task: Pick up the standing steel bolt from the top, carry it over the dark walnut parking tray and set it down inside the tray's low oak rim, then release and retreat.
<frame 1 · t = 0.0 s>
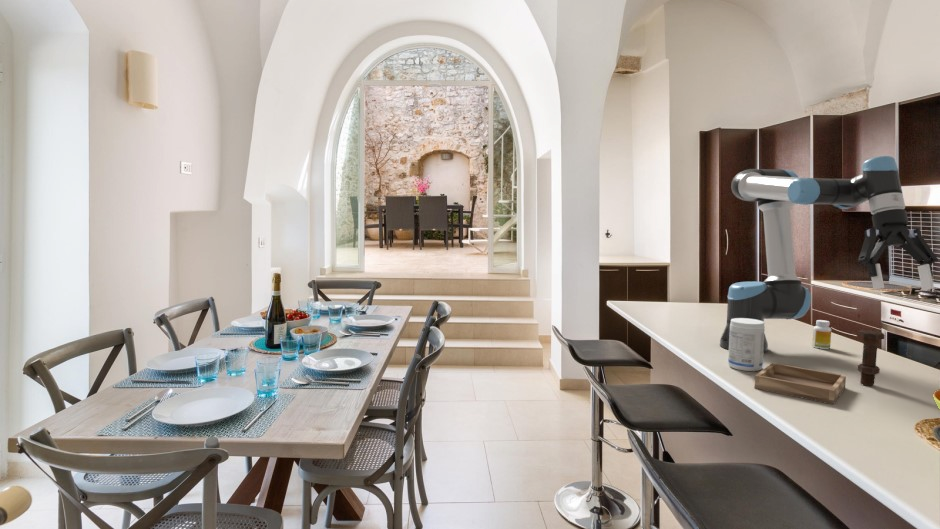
hand: (903, 289, 142), 28 cm above the table, tool tilted 20°, fingers open, 13 cm apart
bolt: (867, 385, 151), on the table
supplement tub: (744, 368, 167), on the table
supplement bottle: (821, 348, 194), on the table
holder: (799, 388, 147), on the table
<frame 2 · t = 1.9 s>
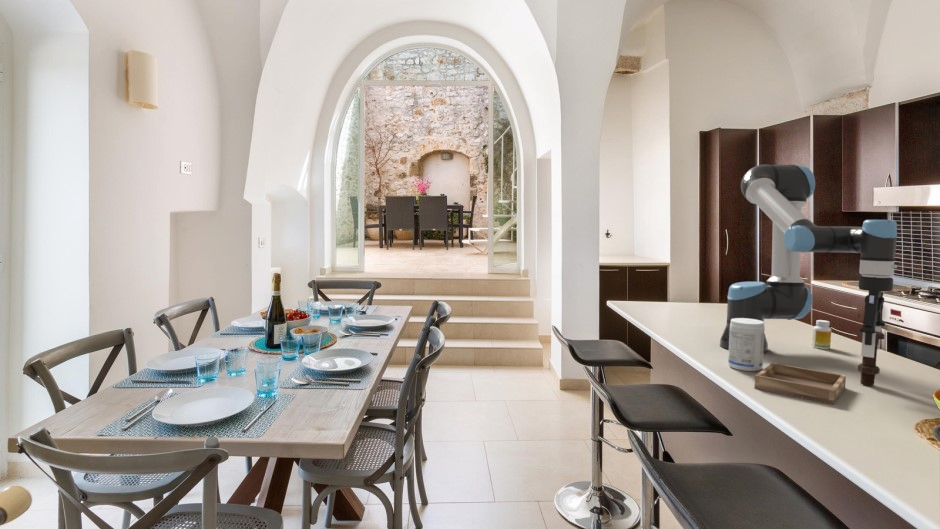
hand: (870, 352, 150), 9 cm above the table, tool pointing down, fingers open, 13 cm apart
nothing on the table moved.
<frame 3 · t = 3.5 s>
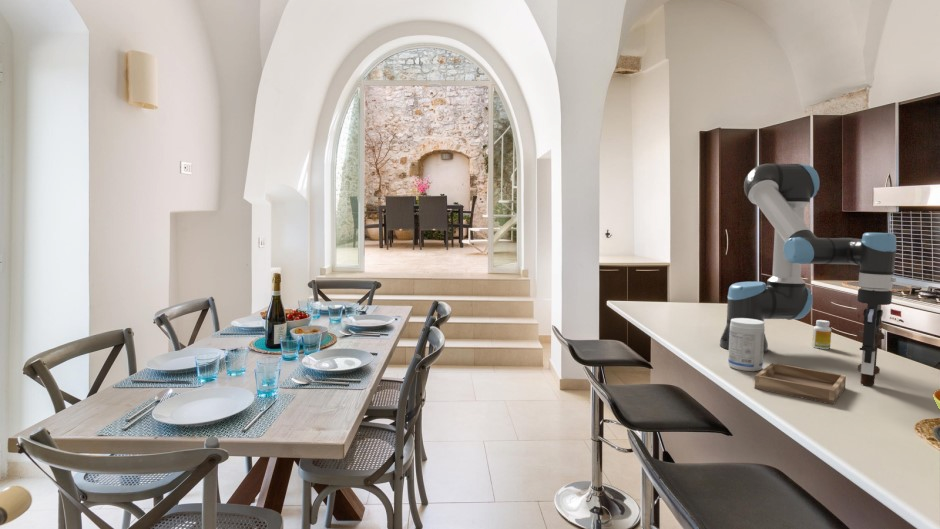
hand: (868, 371, 151), 4 cm above the table, tool pointing down, fingers closed on bolt, 4 cm apart
bolt: (867, 385, 151), on the table, touching gripper
everything else where it was.
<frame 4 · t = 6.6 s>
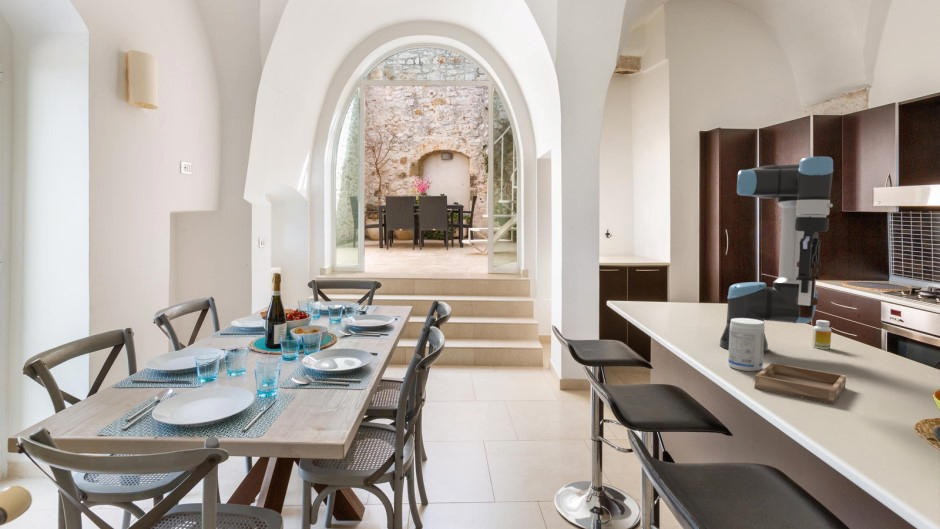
hand: (806, 303, 145), 23 cm above the table, tool pointing down, fingers closed on bolt, 4 cm apart
bolt: (805, 318, 145), point 19 cm above the table, touching gripper
everything else where it was.
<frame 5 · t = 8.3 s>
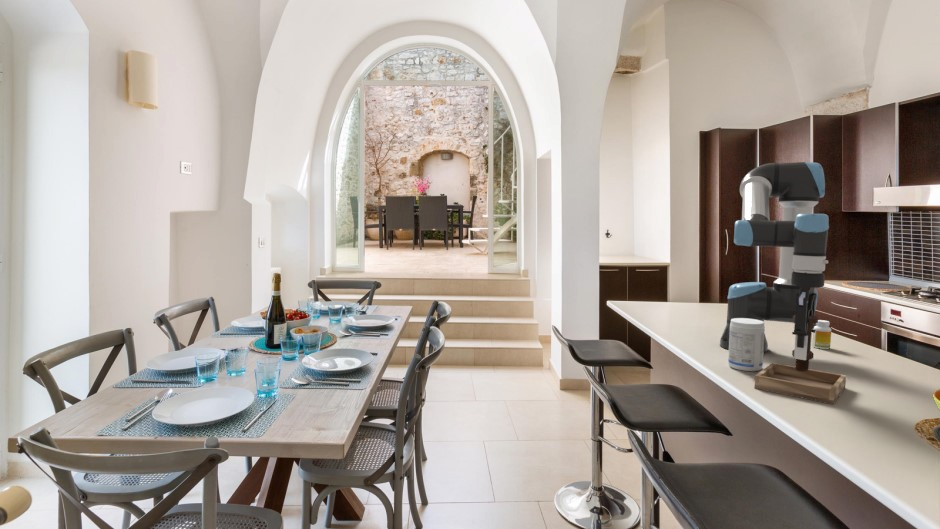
hand: (802, 357, 146), 9 cm above the table, tool pointing down, fingers closed on bolt, 4 cm apart
bolt: (801, 371, 147), point 5 cm above the table, touching gripper
everything else where it was.
when the fingers open (5 cm above the table, at t = 9.5 s): bolt stays where it is, resting on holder.
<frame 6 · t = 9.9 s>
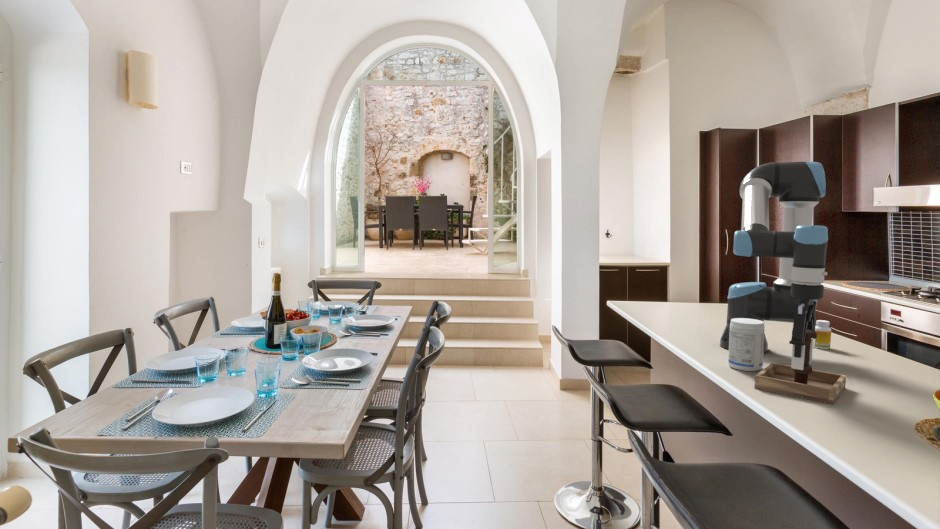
hand: (801, 365, 147), 6 cm above the table, tool pointing down, fingers open, 9 cm apart
bolt: (800, 385, 147), point 1 cm above the table, touching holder
everything else where it was.
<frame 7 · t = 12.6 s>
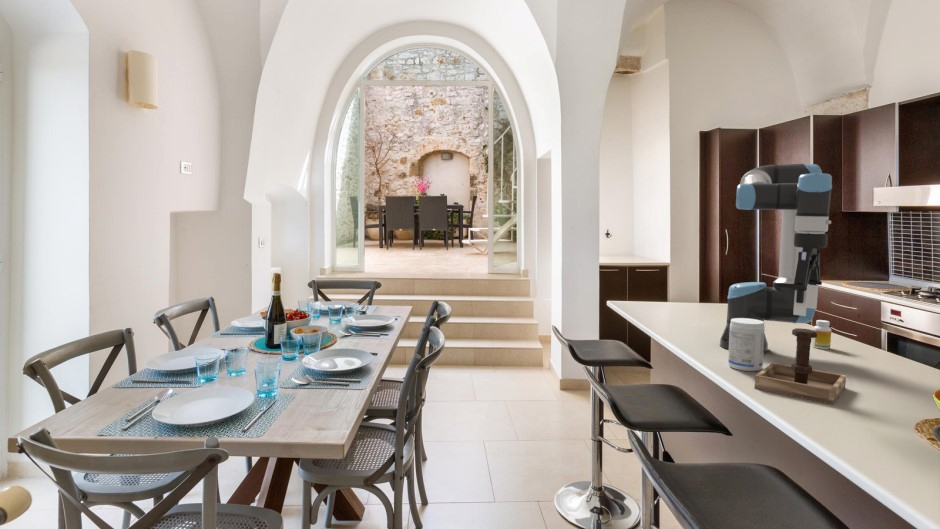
hand: (805, 311, 146), 21 cm above the table, tool pointing down, fingers open, 13 cm apart
nothing on the table moved.
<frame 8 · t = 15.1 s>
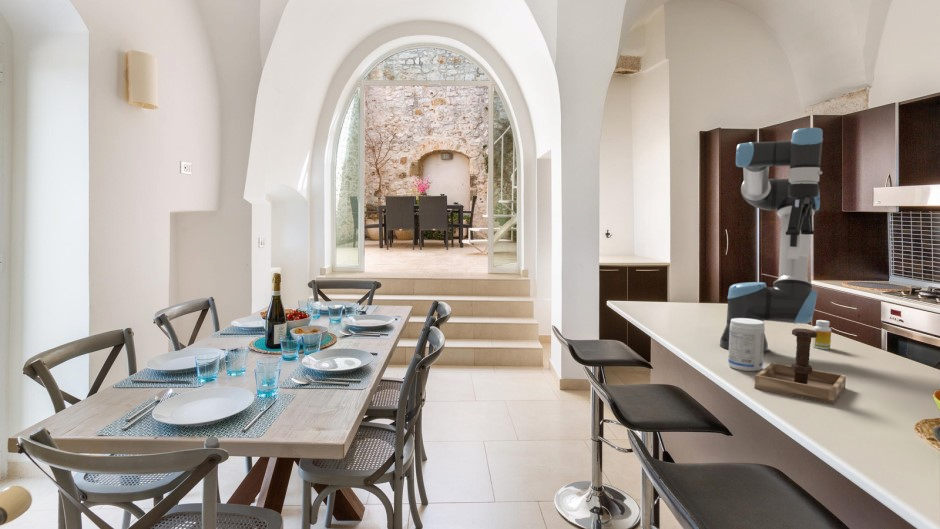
hand: (798, 257, 157), 35 cm above the table, tool pointing down, fingers open, 13 cm apart
nothing on the table moved.
at the end: bolt inside the target area on the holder (0.1 cm from its centre), point 0.8 cm above the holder's base; the gripper is holding nothing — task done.
